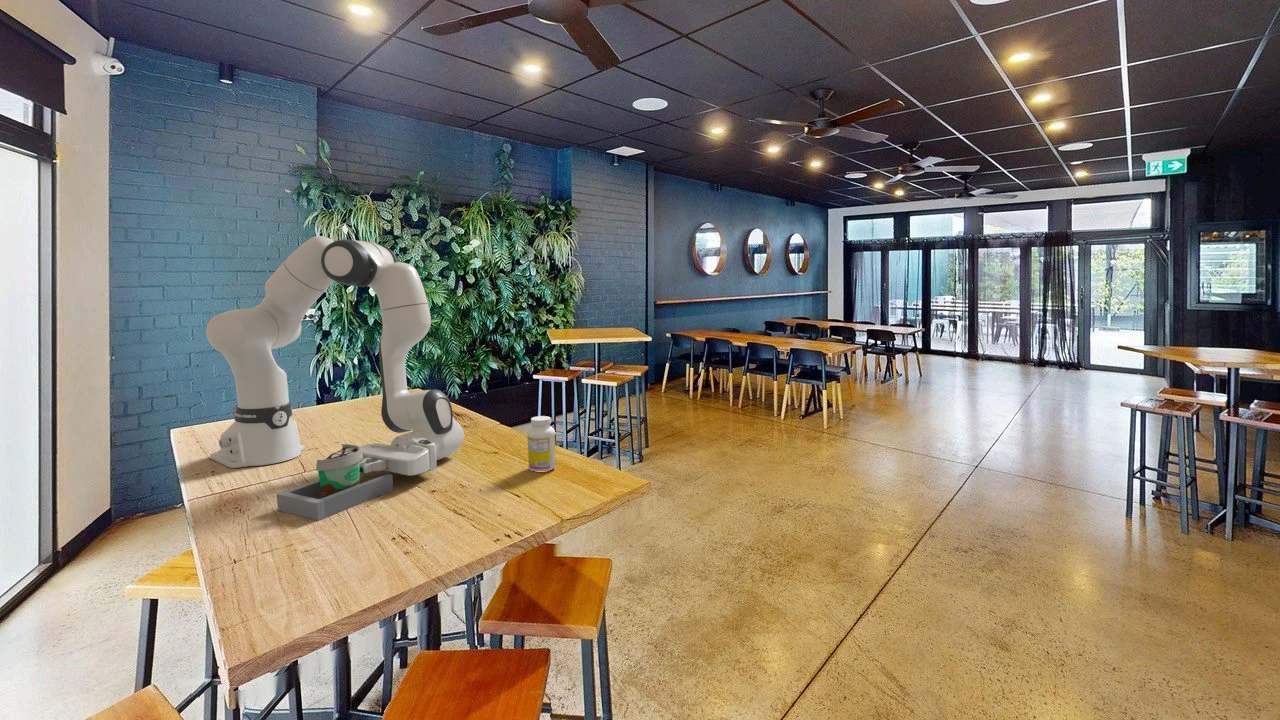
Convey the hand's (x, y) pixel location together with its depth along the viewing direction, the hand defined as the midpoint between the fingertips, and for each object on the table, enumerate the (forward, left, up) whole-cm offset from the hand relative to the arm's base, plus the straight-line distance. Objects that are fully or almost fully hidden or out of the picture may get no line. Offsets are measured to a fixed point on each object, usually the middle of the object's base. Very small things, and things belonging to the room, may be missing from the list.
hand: (359, 469), depth 126 cm
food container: (+1, -4, -5) cm, 6 cm away
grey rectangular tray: (0, -5, -5) cm, 7 cm away
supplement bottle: (+28, +29, -5) cm, 41 cm away
